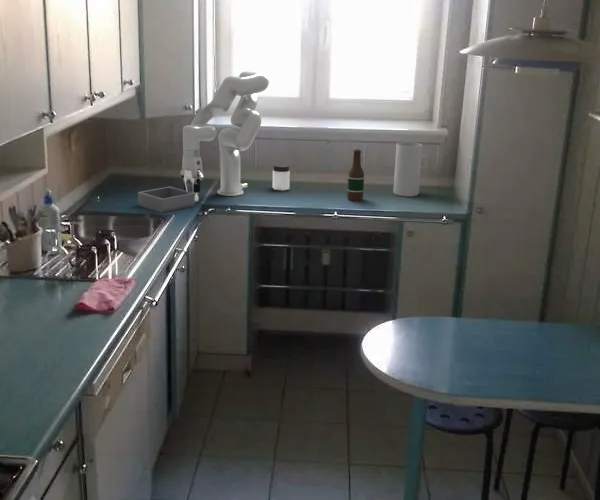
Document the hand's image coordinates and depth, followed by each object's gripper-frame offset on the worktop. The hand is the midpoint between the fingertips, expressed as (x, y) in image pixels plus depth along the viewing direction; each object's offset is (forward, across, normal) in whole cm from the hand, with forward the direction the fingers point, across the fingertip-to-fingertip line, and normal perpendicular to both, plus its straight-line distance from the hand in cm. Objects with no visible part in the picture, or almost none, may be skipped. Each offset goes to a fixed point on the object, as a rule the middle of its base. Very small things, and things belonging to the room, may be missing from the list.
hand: (192, 190), depth 353 cm
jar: (+5, -10, -49) cm, 50 cm away
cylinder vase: (+5, -59, -88) cm, 106 cm away
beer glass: (+5, 0, 0) cm, 5 cm away
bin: (+5, 0, +15) cm, 16 cm away
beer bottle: (+5, -49, -60) cm, 78 cm away
